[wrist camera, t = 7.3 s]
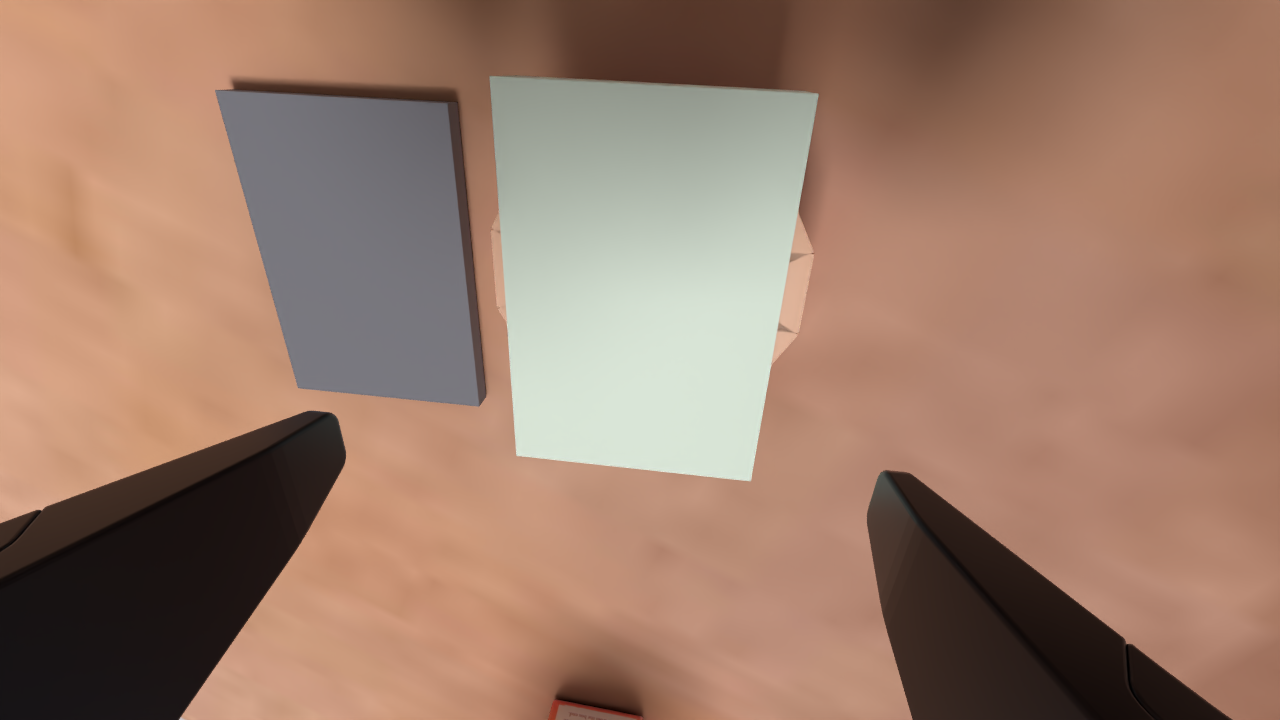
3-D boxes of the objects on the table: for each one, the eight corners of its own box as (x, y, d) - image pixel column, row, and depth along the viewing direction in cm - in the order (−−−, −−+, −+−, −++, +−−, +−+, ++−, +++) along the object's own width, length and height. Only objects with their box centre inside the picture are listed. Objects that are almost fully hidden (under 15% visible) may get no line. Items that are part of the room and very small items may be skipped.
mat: (457, 102, 19) (447, 103, 18) (486, 396, 24) (479, 406, 23) (233, 89, 19) (214, 90, 19) (310, 379, 25) (297, 388, 24)
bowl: (812, 110, 18) (840, 120, 14) (768, 367, 22) (780, 428, 18) (526, 94, 18) (480, 100, 15) (538, 346, 23) (504, 400, 19)
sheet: (805, 90, 14) (818, 93, 12) (747, 442, 18) (750, 481, 17) (517, 75, 14) (489, 76, 12) (534, 420, 19) (516, 455, 17)
